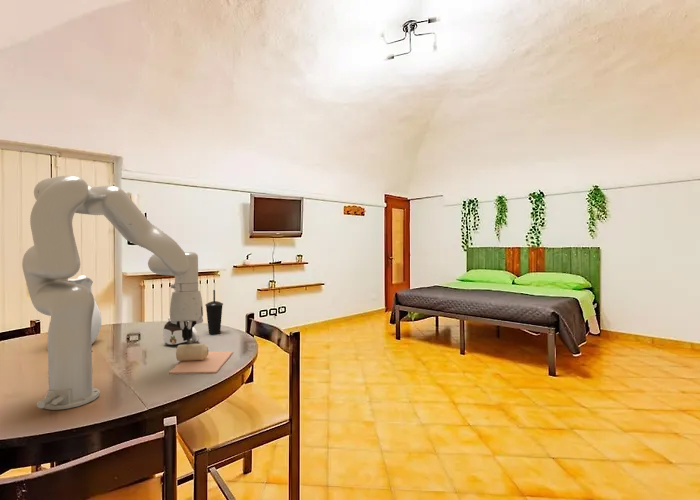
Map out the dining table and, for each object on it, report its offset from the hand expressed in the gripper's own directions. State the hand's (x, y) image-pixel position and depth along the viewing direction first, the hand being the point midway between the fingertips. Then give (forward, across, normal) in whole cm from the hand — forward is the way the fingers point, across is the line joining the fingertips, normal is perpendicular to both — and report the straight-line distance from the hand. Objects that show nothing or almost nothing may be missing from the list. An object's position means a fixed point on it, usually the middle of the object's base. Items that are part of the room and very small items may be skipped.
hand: (187, 339), depth 134 cm
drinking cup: (+8, -2, +41) cm, 42 cm away
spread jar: (+8, -11, +25) cm, 29 cm away
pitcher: (+8, -54, +28) cm, 61 cm away
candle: (+5, -4, +1) cm, 6 cm away
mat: (+8, +6, 0) cm, 10 cm away
